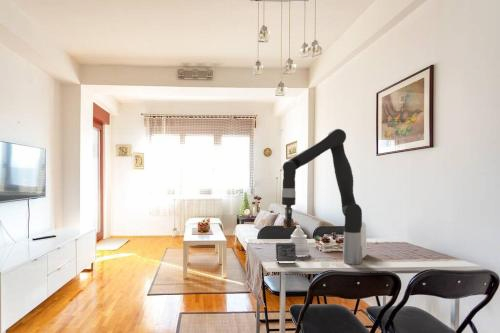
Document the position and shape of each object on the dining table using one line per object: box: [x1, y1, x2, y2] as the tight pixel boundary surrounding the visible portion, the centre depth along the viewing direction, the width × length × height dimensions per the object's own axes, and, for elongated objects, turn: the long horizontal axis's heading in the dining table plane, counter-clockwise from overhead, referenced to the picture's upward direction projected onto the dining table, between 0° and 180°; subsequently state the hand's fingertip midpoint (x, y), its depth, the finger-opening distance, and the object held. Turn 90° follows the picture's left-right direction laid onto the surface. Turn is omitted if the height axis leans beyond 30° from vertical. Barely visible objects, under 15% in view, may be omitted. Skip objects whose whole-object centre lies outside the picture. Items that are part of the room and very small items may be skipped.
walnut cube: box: [283, 217, 294, 229], centre depth 200 cm, size 5×5×5 cm
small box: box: [275, 242, 297, 261], centre depth 202 cm, size 11×6×10 cm, turn 92°
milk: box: [342, 220, 368, 259], centre depth 217 cm, size 12×12×26 cm
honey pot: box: [289, 225, 310, 255], centre depth 219 cm, size 13×13×18 cm
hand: (288, 226), depth 200 cm, fingers closed on walnut cube, 5 cm apart
